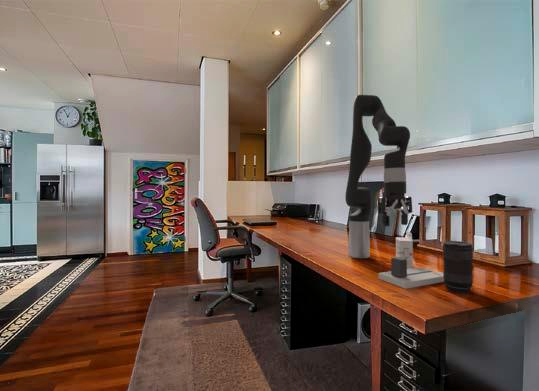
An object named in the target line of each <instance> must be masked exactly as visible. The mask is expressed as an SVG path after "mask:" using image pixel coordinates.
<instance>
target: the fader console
mask: <svg viewBox="0 0 539 391" xmlns="http://www.w3.org/2000/svg"><path fill="white" fill-rule="evenodd" d="M378 279H379V280H381V281H384V282H387V283H389V284H392V285H394V286H397V287H399V288H401V289H412V288H418V287H423V286H428V285H434V284H439V283H444V277H443V271H442V272H441V271H439V270H434V269H431V268H427V267H425V266H419V267H413V268H410V269H407V277H403V278H399V277H396V276H393V275H391V270H389V271H383V272H378Z"/></svg>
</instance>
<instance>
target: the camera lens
mask: <svg viewBox="0 0 539 391" xmlns="http://www.w3.org/2000/svg"><path fill="white" fill-rule="evenodd" d="M472 244H473V243H471V242H466V241H457V240H455V241H454V240H447V241H443V242H442V259H443V260H442V262H443V269H442V270H443V271H442V273H443V277H444V282H443V283H444V286H445V289H446V290H448V291H450V292H453V293H458V294H469V293H471V288H472V287H473V282H474V274H473V270H474V265H473V259H474V250H473V249H474V248H473V245H472Z"/></svg>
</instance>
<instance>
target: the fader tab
mask: <svg viewBox="0 0 539 391" xmlns="http://www.w3.org/2000/svg"><path fill="white" fill-rule="evenodd" d="M390 269H391V270H390V271H391V275H393V276H396V277H399V278H403V277H407V259H403V258H400V257H396V256H394V257H391V258H390Z"/></svg>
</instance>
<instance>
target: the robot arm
mask: <svg viewBox="0 0 539 391" xmlns="http://www.w3.org/2000/svg"><path fill="white" fill-rule="evenodd" d="M363 117H372V119H371V124H372V126H373V129H375V131H376V132H377V135H378V141H379V144H380V145H383V146H385V147H392V146H393V147H396V148H395V150H393V151H391V152H390V151H389V152H387V153H385V154H384V157H383V161H384V162H383V168H384V171H383V194H384V195H385V196H380V197H378V198H377V214H378V215H382V224H383V226H384V227H390V224H391V223H390V219H391V218H390V214H391V212H392V211H393V210H396V209H397V210H398V211H399V212H400V223H401V225H403V226H407V225H408V222H409V221H408V220H409V217H408V216H409V214H411V213H413V200H412V196H405V194H407V172H406V154H407V151H408V150H407V149H408V146H409V143H410V140H411V132H410V130H409V128H408V127H407V126H404V125H403V126H402V125H400V126H399V125H398V126H397V124H396V122H395V120H394V119H393V118H392V117H391V116H390V115H389V114H388V113H387V110H386V108H385V106H384V104H383V101H382V100H381V99H380V97H379V96H378V95H375V94H371V95H370V94H358V95H357V94H356V96H355V97H354V101H353V106H352V135H351V136H352V137H351V145H350V153H349V154H350V158H349V170H348V179H347V183H346V184H347V185H346V188H345V189H346V190H345V203H346V205H347V206H348V207H349V208H351V207H352V208H355V207H357V208H358V209H357V210H356V211H355V212H353V213H351V214H349V216H348V217H349V219H348V221H349V222H348V224H349V225H348V226H349V228H348V229H349V231H348V232H349V235H348V240H347V242H348V252H347V253H348V256H349V257H350V258H353V259H354V258H356V259H368V258H370V257H371V256H370V248H371V247H370V218H371V217H370V216H371V212H372V210H371V209H372V193H371V190H370V189H369V188H368V187H359V181H360V178H361V176H362V174H363V173H364V172H365V170H366V169H367V167H368V165H369V164H370V162H371V158H372V150H373V149H372V143H371V140H370V138H369V136H368V134H367V133H366V131H365V128H364V124H363Z"/></svg>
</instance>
